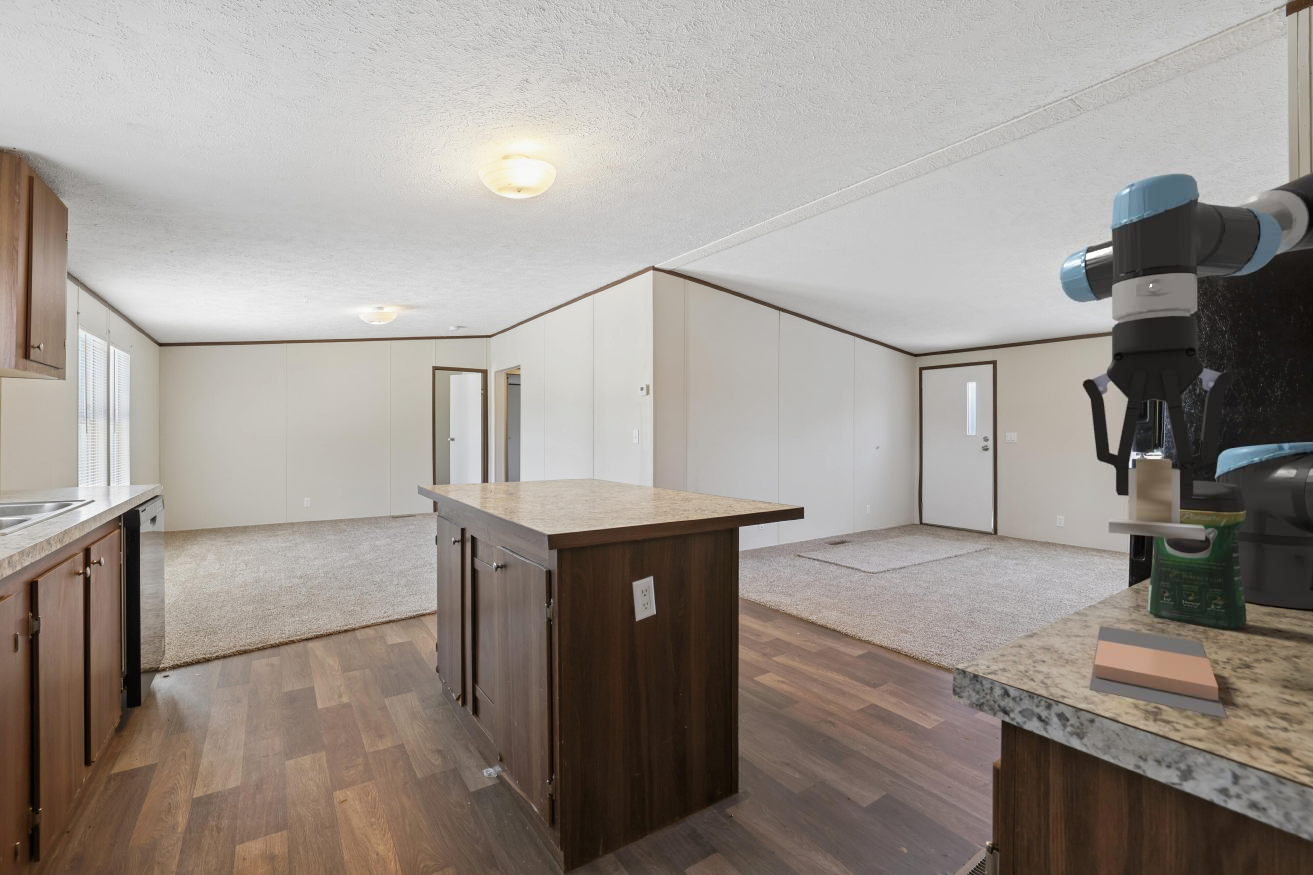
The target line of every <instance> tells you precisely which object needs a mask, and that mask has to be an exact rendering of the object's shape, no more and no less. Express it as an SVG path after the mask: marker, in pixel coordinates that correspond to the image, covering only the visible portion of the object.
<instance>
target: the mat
mask: <svg viewBox="0 0 1313 875" xmlns="http://www.w3.org/2000/svg"><path fill="white" fill-rule="evenodd" d="M1098 640H1101V641H1107V642H1113V643H1119V644H1125V645H1131V646H1137V647H1143V648H1149V649H1154V650H1160V651H1166V652H1172V653H1178V654H1184V655H1190V656H1196V657H1202V658H1207V655H1206V652H1205V649H1204V647H1203V643H1202V642H1201V640H1200V641H1198V640H1193V639H1188V638H1187V639H1185V638H1181V637H1180V638H1179V637H1173V636H1167V635H1160V634H1154V633H1147V632H1141V631H1138V630H1137V631H1135V630H1130V629H1129V630H1128V629H1122V628H1116V627H1110V626H1104V625H1099V630H1098V636H1097V642H1096V647H1095V652H1094V654H1095V655H1094V659H1093V666H1092V672H1091V675H1090V682H1089V683H1090V684H1089V688H1088V689H1089V690H1090V691H1095V692H1100V693H1105V694H1109V695H1113V696H1118V697H1124V698H1128V699H1133V700H1138V701H1141V702H1142V701H1143V702H1148V703H1152V704H1156V705H1161V706H1167V707H1170V708H1175V709H1180V710H1184V711H1190V712H1194V713H1198V714H1204V715H1207V716H1208V715H1209V716H1213V717H1217V718H1222V719H1228V717H1227V715H1226V712H1225V709H1224V706H1223V702H1222V699H1221V697H1220V693H1219V692H1218V701H1217V700H1215V701H1212V700H1207V699H1202V698H1197V697H1192V696H1187V695H1182V694H1177V693H1172V692H1167V691H1162V690H1157V689H1152V688H1147V687H1142V686H1137V685H1132V684H1127V683H1122V682H1117V681H1112V680H1107V679H1102V678H1097V676H1094V675H1095V658H1096V652H1097V646H1098Z"/></svg>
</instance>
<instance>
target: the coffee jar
mask: <svg viewBox="0 0 1313 875" xmlns="http://www.w3.org/2000/svg"><path fill="white" fill-rule="evenodd" d="M1245 517H1246V511H1245V505H1244V501H1243V496H1242V492H1241V489H1240V487H1239V486H1238V485H1235V484H1227V483H1219V482H1216V481H1208V480H1193V496H1192V497H1191V499H1189V498H1180V523H1181V524H1196V525H1203V527H1204V528H1205V540H1198V539H1185V538H1172V537H1159V536H1153V552H1152V562H1151V564H1152V565H1151V573H1150V580H1149V587H1148V597H1147V598H1148V599H1147V611H1148V613H1149V614H1150V615H1152V616H1153V617H1154V618H1156V619H1162V620H1167V621H1168V620H1169V621H1172V622H1173V621H1174V622H1178V623H1182V624H1188V625H1192V626H1198V627H1199V626H1200V627H1205V628H1210V629H1216V630H1225V631H1228V630H1237V631H1239V630H1241V629H1243V628H1244V627H1245V626H1246V624H1247V608H1246V601H1245V598H1244V591H1243V585H1242V578H1241V571H1240V563H1239V544H1238V539H1239V530H1240V527H1241V526H1242V524H1243V522H1244V520H1245Z"/></svg>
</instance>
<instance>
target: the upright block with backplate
mask: <svg viewBox="0 0 1313 875" xmlns="http://www.w3.org/2000/svg"><path fill="white" fill-rule="evenodd" d="M1172 465H1173V463H1172V460H1171V459H1169V458H1135V468H1137V521H1135V520H1128V519H1118V518H1117V519H1114V518H1109V519H1108V533H1109V534H1118V535H1119V534H1122V535H1134V536H1135V535H1136V536H1145V537H1146V536H1148V537H1154V536H1159V537H1172V538H1185V539H1198V540H1205V528H1204V527H1203V525H1196V524H1181V523H1172V469H1173V466H1172Z"/></svg>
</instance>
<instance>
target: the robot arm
mask: <svg viewBox="0 0 1313 875" xmlns="http://www.w3.org/2000/svg"><path fill="white" fill-rule="evenodd" d="M1198 189H1199V188H1198V182H1197V181H1196V179H1195V178H1194V177H1193V175H1190V174H1187V173H1167V174H1161V175H1156V176H1152V177H1148V178H1144V179H1141V180H1138V181H1134V182H1133V183H1131V184H1128V185H1127V186H1125V187H1123V188H1122V189H1120V190H1119V191H1118V192H1117V193H1116V195H1115V196H1114V198H1113V204H1112V205H1113V206H1112V207H1113V208H1112V218H1111V224H1110V230H1111V240H1108V241H1105V242H1103V243H1102V242H1101V243H1099V244H1095V245H1091V246H1087V247H1085V248H1084V249H1081V250H1078V251H1076V252H1073V253H1071V254H1070V255H1068V256H1067V257H1066V258H1065V259H1064V261H1063V263H1062V264H1061V266H1060V271H1059V280H1060V284H1061V288H1062V289H1061V290H1063V293H1064V294H1065V295H1066V296H1067V297H1068V299H1069V298H1070V300H1072V301H1074V302H1078V303H1087V302H1092V301H1093V302H1094V301H1097V302H1099V301H1102V300H1105V299H1108V298H1111V299H1112V300H1111V306H1112V307H1111V310H1112V311H1111V312H1112V314H1111V316H1112V318H1111V319H1112V320H1114V321H1116V322H1117V323H1116V324H1114V325H1113V326H1112V327H1111V362H1110V365H1109V366H1108V367H1107V369H1106V372H1105V373H1104V374H1101V375H1099V376H1096V377H1094V378H1092V379H1090V378H1088V379H1085V380H1084V381H1083V382H1082V386H1083V389H1084V390H1085V392H1086V394H1087V395H1088V398H1089V399H1090V407H1091V416H1092V425H1093V434H1094V442H1095V452H1096V459H1097V461H1099V462H1101V463H1105V464H1107V465H1108V464H1109V465H1111V466H1113V467H1114V468H1115V491H1116V493H1117V496H1125V497H1126V496H1127V497H1128V511H1127V512H1128V519H1127V520H1135V521H1137V468H1136V467H1130V462H1131V456H1132V450H1133V445H1134V444H1133V443H1134V440H1135V435H1136V430H1137V425H1138V418H1139V414H1140V409H1141V404H1142V403H1143V402H1144V403H1145V402H1148V401H1159V402H1165V408H1166V411H1167V417H1168V421H1169V426H1170V427H1169V428H1170V431H1171V433H1170V434H1171V438H1172V441H1173V447H1174V452H1175V457H1176V461H1177V468H1172V523H1180V498H1189V499H1191V497H1192V496H1193V481H1194V472H1195V470H1196V469H1197V468H1198V467H1201V466H1206V465H1210V464H1213V463H1215V462H1216V460H1217V465H1216V473H1215V476H1214V479H1215V482H1219V483H1227V484H1235V485H1238V486H1239V487H1240V489H1241V492H1242V496H1243V501H1244V505H1245V511H1246V517H1245V520H1244V522H1243V524H1242V526H1241V527H1240V530H1239V539H1238V544H1239V563H1240V571H1241V578H1242V585H1243V591H1244V598H1245V602H1247V603H1248V602H1249V603H1254V604H1261V605H1266V606H1272V607H1273V606H1275V607H1280V608H1281V607H1282V608H1291V609H1303V610H1304V609H1306V610H1313V441H1312V442H1307V441H1305V442H1289V443H1288V442H1286V443H1271V444H1261V445H1259V444H1258V445H1249V446H1238V447H1234V448H1232V447H1231V448H1228V449H1225V450H1223V451H1222V452H1221V453H1220V454H1219V455H1218V458H1217V454H1218V445H1219V438H1220V437H1219V435H1220V427H1221V419H1222V410H1223V403H1224V395H1225V393H1226V392H1227V391H1228V389H1229V387H1230V385H1231V384H1232V382H1233V380H1234V376H1233V374H1231V373H1230V372H1223V373H1222V372H1219V371H1215V370H1213V369H1209V368H1205V367H1204V363H1203V362H1202V360H1201V359H1200V357H1199V353H1198V319H1196V318H1195V316H1191V315H1193V314H1194V313H1195V312H1197V311H1198V278H1204V277H1207V276H1217V277H1222V278H1223V277H1224V278H1227V277H1232V276H1233V277H1234V276H1236V277H1237V276H1244V275H1249V274H1251V273H1253V272H1256V271H1259V270H1260V269H1262V268H1263V267H1264V266H1266V265H1267V264H1268V263H1269V262H1270V261H1271V260H1272V259H1273V258H1274V257H1275V256H1276V255H1280V254H1284V253H1287V252H1294V251H1295V252H1296V251H1300V250H1308V249H1313V171H1312V172H1309V173H1308V174H1304V175H1303V176H1301V177H1297V178H1296V179H1293V180H1291V181H1289V182H1287V183H1284V184H1281V185H1280V186H1277V187H1275V188H1271V189H1269V190H1264V191H1261V192H1259V193H1257V194H1254V195H1252V196H1250V197H1248V198H1246V199H1245V200H1244V201H1243V202H1241V204H1240V205H1236V206H1228V205H1218V204H1210V203H1205V202H1201V201H1199V198H1200V192H1199V190H1198ZM1198 378H1200V379H1201V380H1202V382H1201V383H1202V384H1201V387H1202V389H1204V390H1205V391H1207V393H1206V396H1205V401H1204V410H1203V411H1204V412H1203V418H1202V426H1201V434H1200V435H1201V436H1200V443H1199V444H1200V446H1199V453H1198V454H1193V453H1192V449H1191V444H1190V438H1189V435H1188V428H1187V423H1186V419H1185V414H1184V409H1183V402H1182V395H1183V394H1184V393H1185V392H1186V391H1187V390H1188V389H1189V388H1190V387H1191V385H1192V384H1193V383H1195V381H1196V380H1197V379H1198ZM1110 382H1112V383H1113V384H1114V386H1116V388H1117V389H1119V391H1120V392H1121V393H1122V394H1123V396H1124V397H1126V398H1127V404H1126V407H1125V408H1126V409H1125V412H1124V413H1125V414H1124V418H1123V424H1122V428H1121V434H1120V440H1119V445H1118V450H1117V454H1115V453H1112V452H1110V446H1109V445H1110V444H1109V436H1108V435H1109V433H1108V426H1107V416H1106V406H1105V400H1104V397H1103V395H1104V394H1106V393H1107V392H1108V384H1109V383H1110Z"/></svg>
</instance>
